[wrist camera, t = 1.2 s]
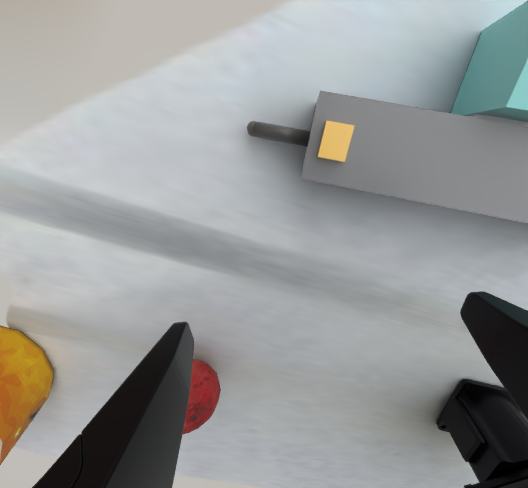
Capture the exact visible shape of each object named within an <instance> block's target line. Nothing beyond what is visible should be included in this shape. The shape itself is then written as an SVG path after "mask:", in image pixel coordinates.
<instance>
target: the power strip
mask: <svg viewBox="0 0 528 488" xmlns="http://www.w3.org/2000/svg"><path fill="white" fill-rule="evenodd" d="M247 131H248V133H249V134H250V135H251V136H254V137H260V138H265V139H270V140H276V141H281V142H286V143H292V144H297V145H302V146H307V148H306V153H305V157H304V162H303V167H302V171H301V179H304V180H309V181H314V182H319V183H324V184H329V185H334V186H339V187H345V188H350V189H355V190H360V191H365V192H370V193H375V194H380V195H385V196H390V197H395V198H401V199H406V200H411V201H416V202H421V203H426V204H431V205H436V206H441V207H446V208H452V209H457V210H462V211H467V212H472V213H477V214H482V215H487V216H492V217H497V218H503V219H508V220H513V221H518V222H523V223H528V127H526V126H521V125H515V124H509V123H503V122H498V121H492V120H486V119H480V118H475V117H469V116H463V115H457V114H451V113H446V112H440V111H434V110H428V109H423V108H417V107H411V106H405V105H400V104H394V103H388V102H382V101H376V100H371V99H365V98H359V97H353V96H348V95H342V94H336V93H330V92H325V91H320V93H319V96H318V100H317V103H316V107H315V112H314V117H313V121H312V126H311V130H310V131H305V130H300V129H294V128H289V127H283V126H278V125H272V124H267V123H261V122H256V121H252V122H250V123H249V124H248V126H247Z"/></svg>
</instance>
